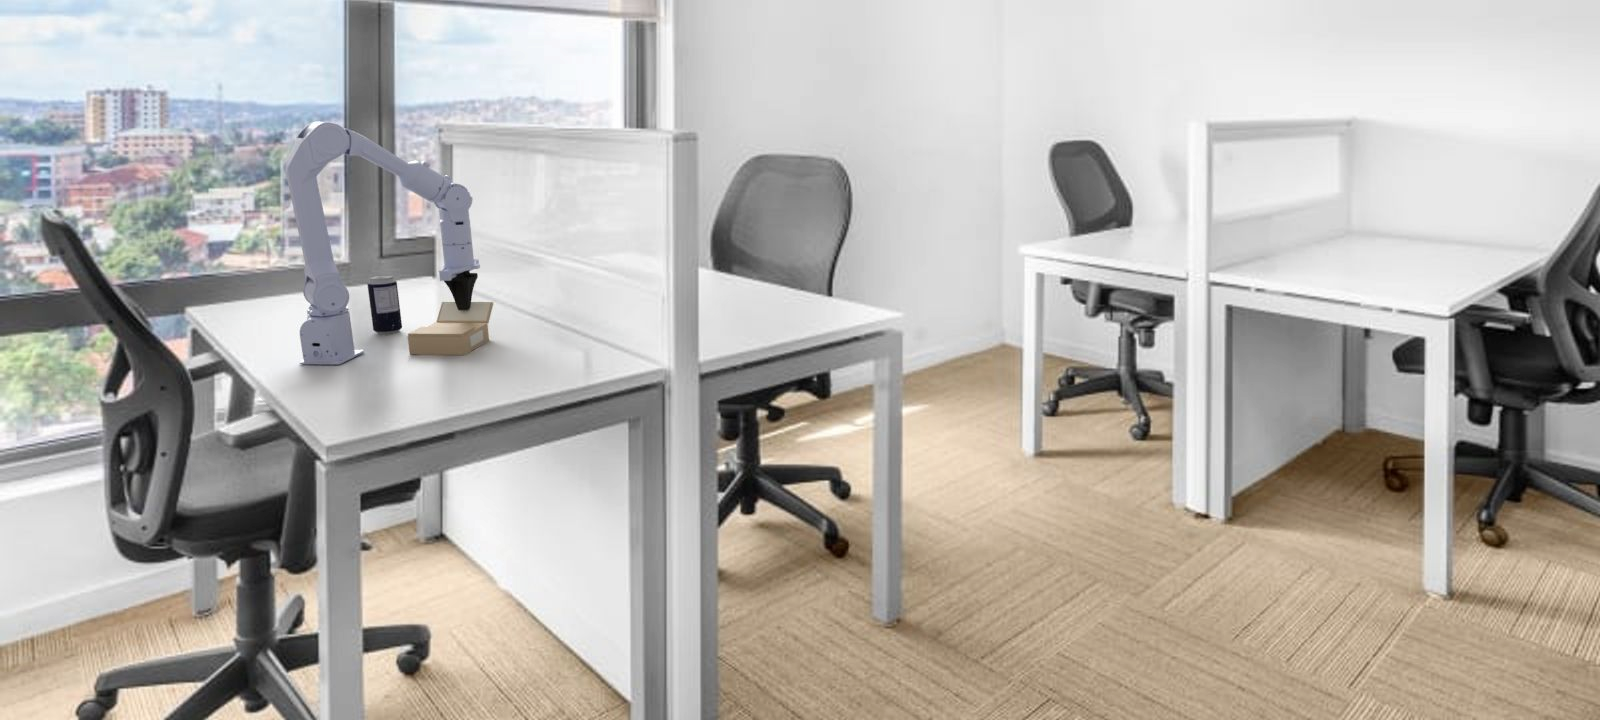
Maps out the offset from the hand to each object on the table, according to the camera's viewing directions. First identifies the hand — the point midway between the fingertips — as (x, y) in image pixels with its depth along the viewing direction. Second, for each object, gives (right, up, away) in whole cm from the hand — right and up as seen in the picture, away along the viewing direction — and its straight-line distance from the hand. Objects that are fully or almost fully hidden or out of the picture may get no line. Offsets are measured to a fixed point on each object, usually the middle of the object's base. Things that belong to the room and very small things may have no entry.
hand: (464, 309), depth 206 cm
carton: (-1, -8, -6) cm, 10 cm away
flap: (0, 0, 0) cm, 0 cm away
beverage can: (-18, -5, +7) cm, 20 cm away
